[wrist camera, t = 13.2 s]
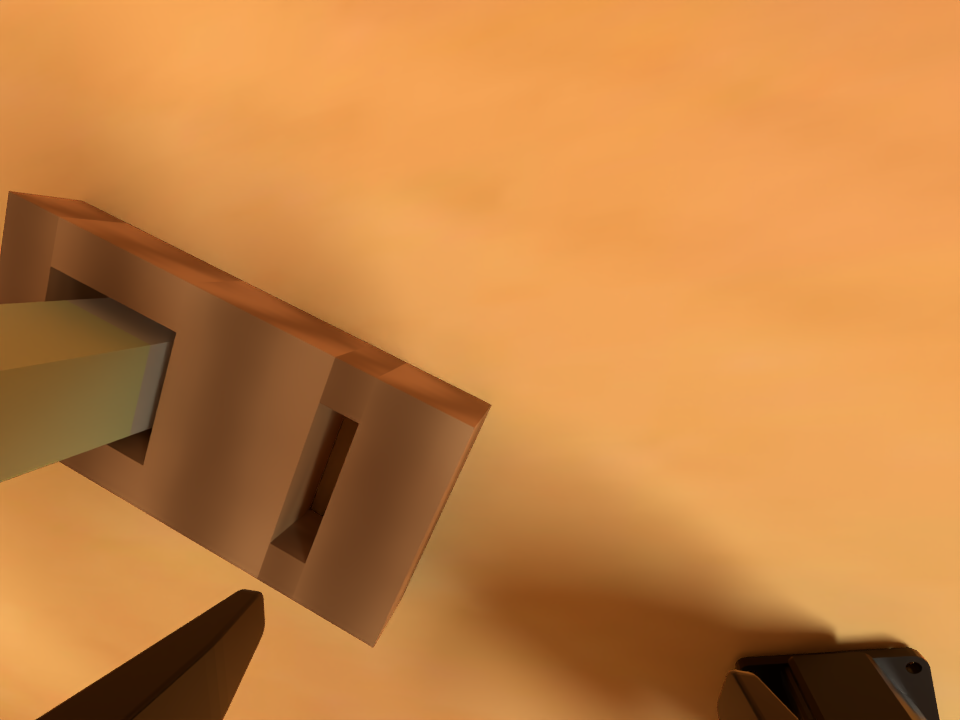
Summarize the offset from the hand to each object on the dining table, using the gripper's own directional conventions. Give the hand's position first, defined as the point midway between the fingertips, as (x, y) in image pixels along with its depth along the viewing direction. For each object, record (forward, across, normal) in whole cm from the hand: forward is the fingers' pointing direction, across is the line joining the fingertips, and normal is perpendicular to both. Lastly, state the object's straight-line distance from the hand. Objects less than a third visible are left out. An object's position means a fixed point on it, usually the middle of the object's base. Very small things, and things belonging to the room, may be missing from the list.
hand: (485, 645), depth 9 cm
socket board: (+13, +13, +2) cm, 18 cm away
